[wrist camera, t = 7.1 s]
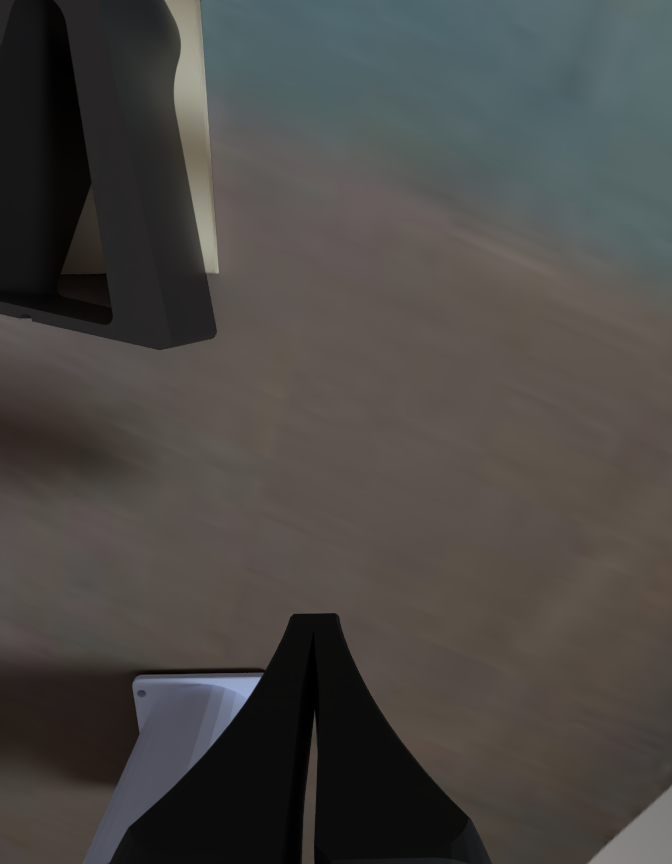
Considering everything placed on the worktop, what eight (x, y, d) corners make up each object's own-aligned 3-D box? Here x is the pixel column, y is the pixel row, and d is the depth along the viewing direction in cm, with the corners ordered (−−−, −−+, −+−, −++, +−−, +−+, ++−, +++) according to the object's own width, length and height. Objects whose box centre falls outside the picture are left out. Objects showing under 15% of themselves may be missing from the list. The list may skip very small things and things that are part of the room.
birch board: (218, 273, 20) (214, 272, 19) (-27, 273, 19) (-42, 272, 19) (198, -28, 17) (191, -45, 16) (-92, -32, 16) (-112, -49, 16)
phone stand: (-127, 285, 13) (-151, -239, 10) (12, 294, 19) (24, -39, 16) (168, 352, 14) (229, -122, 11) (216, 341, 20) (264, 30, 17)
